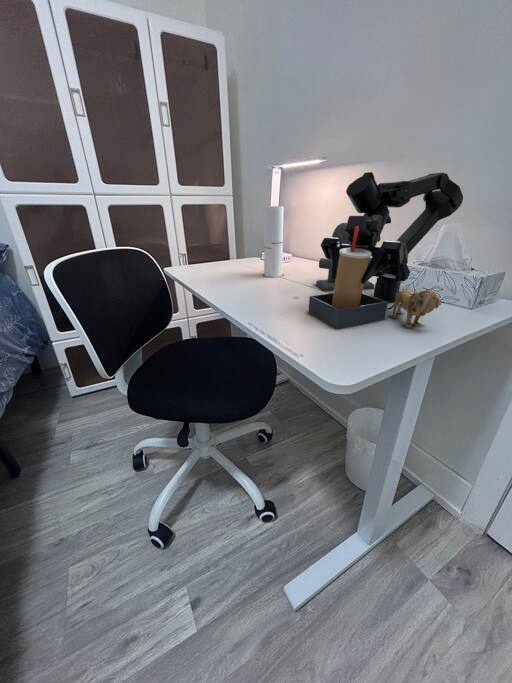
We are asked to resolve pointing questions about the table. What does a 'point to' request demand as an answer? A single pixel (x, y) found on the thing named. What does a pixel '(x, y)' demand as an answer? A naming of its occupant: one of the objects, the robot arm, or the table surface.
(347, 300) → the takeaway cup
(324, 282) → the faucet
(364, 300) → the bin
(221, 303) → the table surface
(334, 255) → the robot arm
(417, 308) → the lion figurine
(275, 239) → the cylindrical container
